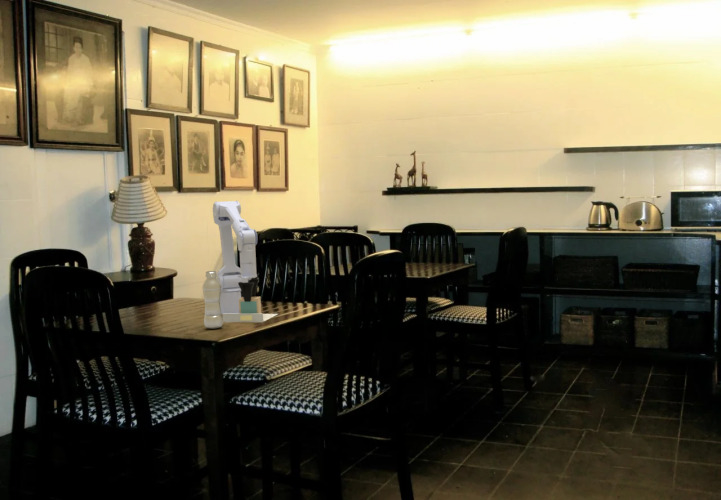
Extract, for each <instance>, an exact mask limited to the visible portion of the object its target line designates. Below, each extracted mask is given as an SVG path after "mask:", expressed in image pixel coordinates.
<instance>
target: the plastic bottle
mask: <svg viewBox="0 0 721 500" xmlns="http://www.w3.org/2000/svg"><path fill="white" fill-rule="evenodd" d="M205 278H206V279H205V280H204V282H203V284H202V293H203V299H204V316H203V317H204V318H203V325H204V327H205V328H206V329H210V330H216V329H220V328H221V327H222V326H223V324H224V322H223V314H221V307H220V296H221V284H220V282H219V281H218V280H217V271H216V270H208V271H205Z"/></svg>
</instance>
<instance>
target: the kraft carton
mask: <svg viewBox="0 0 721 500" xmlns="http://www.w3.org/2000/svg"><path fill="white" fill-rule="evenodd" d="M261 299H262V297H261V296H255V297H251V301H250V302H245V301H244V298H243V296H241V298H240V299H239V313H262V300H261Z"/></svg>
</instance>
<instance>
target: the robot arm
mask: <svg viewBox="0 0 721 500" xmlns="http://www.w3.org/2000/svg"><path fill="white" fill-rule="evenodd" d="M241 212H242V207H241V202H239V201H238V200H231V201H228V200H227V201H214V202H213V206H212V216H213V217H212V218H213V222H214V224H216V225H217V226H218V229H219V237H220V245H221V246H220V247H221V256H222V263H223V264H222V265H223V266H222V267H221V268H220V269H219V270H218V271H217V272H216V275H217V277H216V279H217V280H218V281H219V282H220V284H221V296H220V307H221V315H223V313H239V299H240V298H241V297H243V298H244V301H245V302H250V301H251V297H256V294H257V292H256V291H257V287H258V284H259V281H260V278H257V277H258V274H257V257H256V245H257V244H258V233H257V231H256V229H253V228H251V227H250V225H249V224H248V222H247V220H246V219H244V218H242V216H241V214H242V213H241ZM233 232H234V233H235V236H236V244H237V248H238V249H237V250H238V251H239V265H240V267H239V266H237V264H236V256H235V249H234V248H235V247H234V246H235V245H234V239H233V237H234V236H233Z"/></svg>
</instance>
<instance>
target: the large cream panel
mask: <svg viewBox="0 0 721 500" xmlns="http://www.w3.org/2000/svg"><path fill="white" fill-rule="evenodd" d="M276 316H278V313H262V312H261V313H223V314H222V318H223V323H264V322H266V321H268V320H270V319H271V318H274V317H276Z"/></svg>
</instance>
